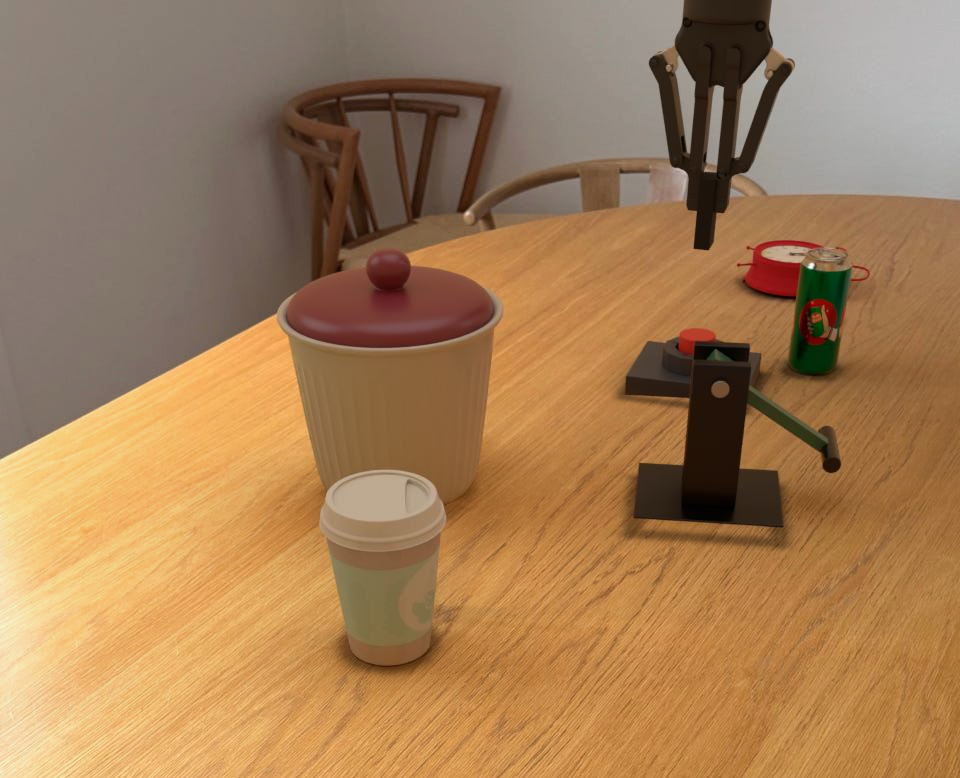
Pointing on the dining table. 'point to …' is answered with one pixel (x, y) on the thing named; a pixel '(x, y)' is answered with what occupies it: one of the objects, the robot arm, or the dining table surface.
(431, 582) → the coffee cup
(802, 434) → the lever
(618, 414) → the dining table surface
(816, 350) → the soda can
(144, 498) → the dining table surface
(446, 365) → the canister
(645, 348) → the button box
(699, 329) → the button
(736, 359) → the bracket
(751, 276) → the alarm clock
